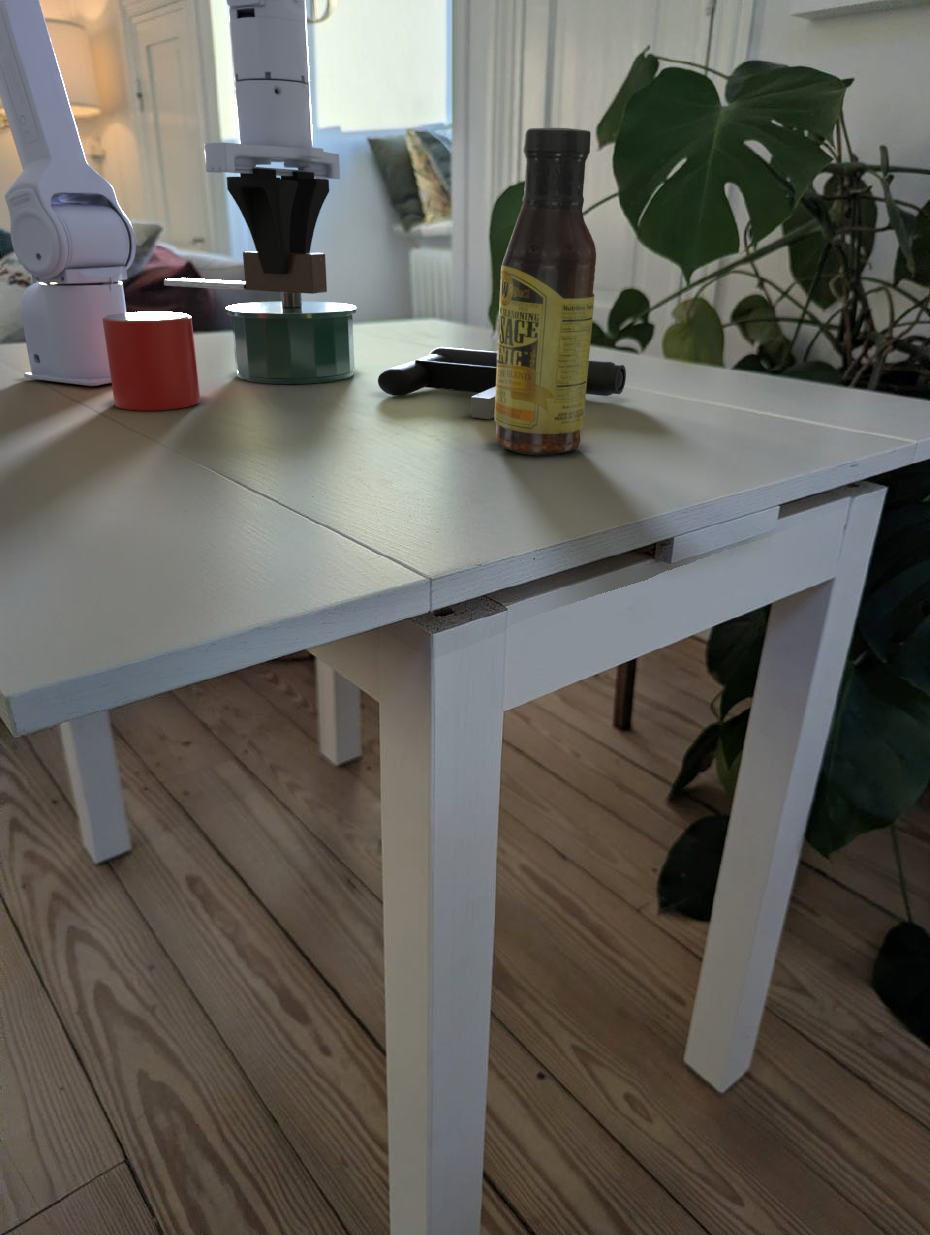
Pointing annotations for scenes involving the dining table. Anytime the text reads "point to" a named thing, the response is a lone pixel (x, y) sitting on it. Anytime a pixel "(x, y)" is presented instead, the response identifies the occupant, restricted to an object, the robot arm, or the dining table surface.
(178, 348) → the can
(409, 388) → the door handle
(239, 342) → the pot
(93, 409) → the dining table surface
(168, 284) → the knife
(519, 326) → the sauce bottle
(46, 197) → the robot arm
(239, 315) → the pot lid
